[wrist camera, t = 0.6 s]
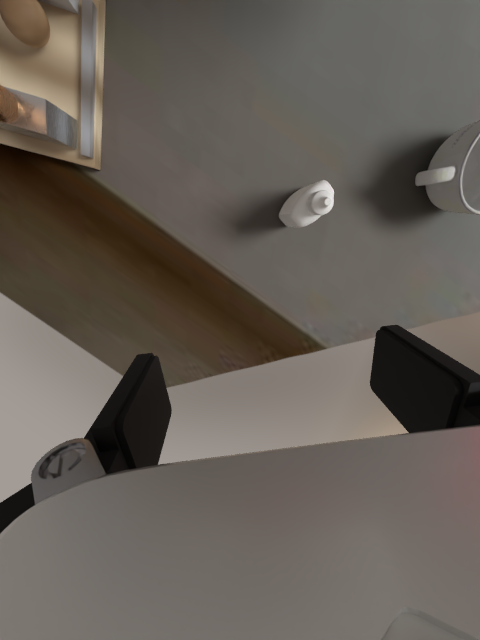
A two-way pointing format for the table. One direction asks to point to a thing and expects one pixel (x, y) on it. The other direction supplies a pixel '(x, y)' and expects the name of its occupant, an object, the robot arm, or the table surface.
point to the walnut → (26, 21)
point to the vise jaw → (36, 118)
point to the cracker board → (61, 76)
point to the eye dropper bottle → (307, 204)
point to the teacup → (455, 172)
